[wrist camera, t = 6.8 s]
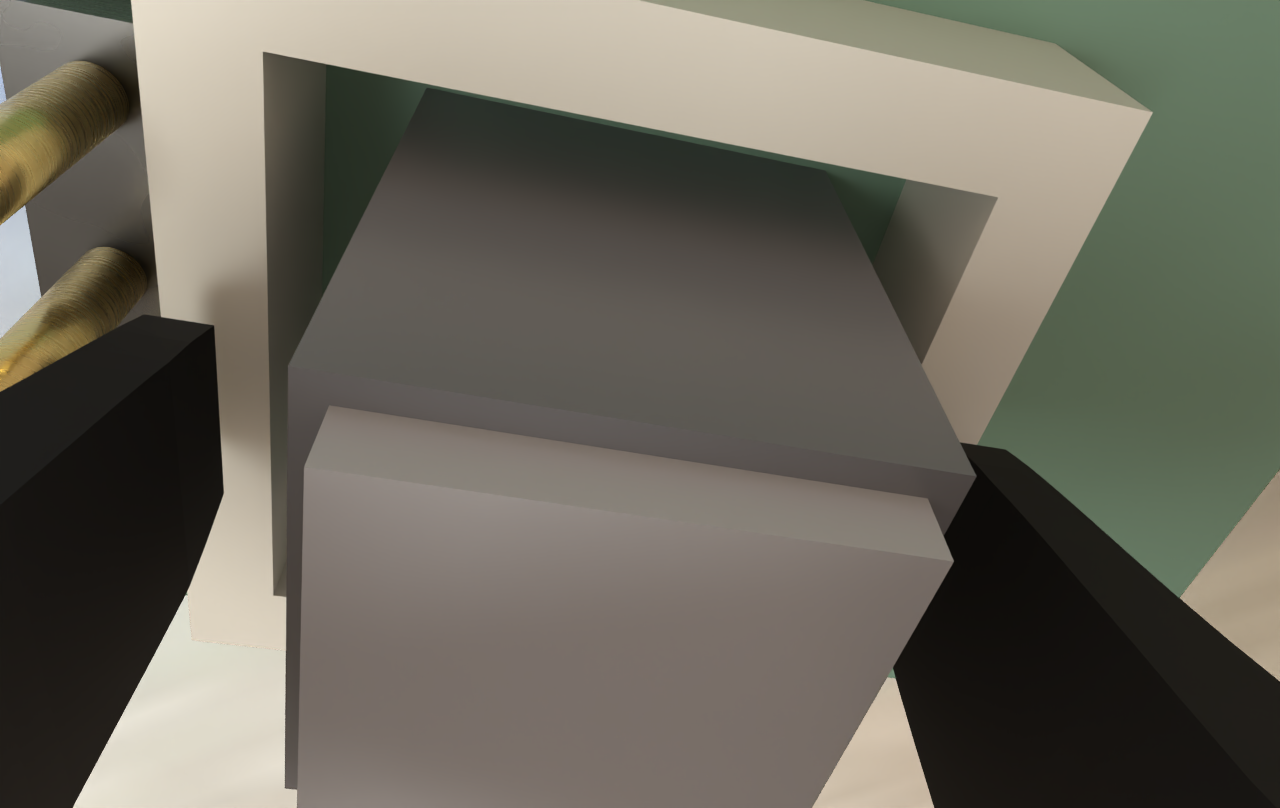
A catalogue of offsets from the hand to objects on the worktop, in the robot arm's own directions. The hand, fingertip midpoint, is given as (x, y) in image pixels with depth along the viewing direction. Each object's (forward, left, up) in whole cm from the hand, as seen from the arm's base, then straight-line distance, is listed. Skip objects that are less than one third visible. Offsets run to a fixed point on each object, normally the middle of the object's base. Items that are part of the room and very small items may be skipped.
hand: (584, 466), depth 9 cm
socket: (0, 0, -3) cm, 3 cm away
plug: (0, 0, -3) cm, 3 cm away
